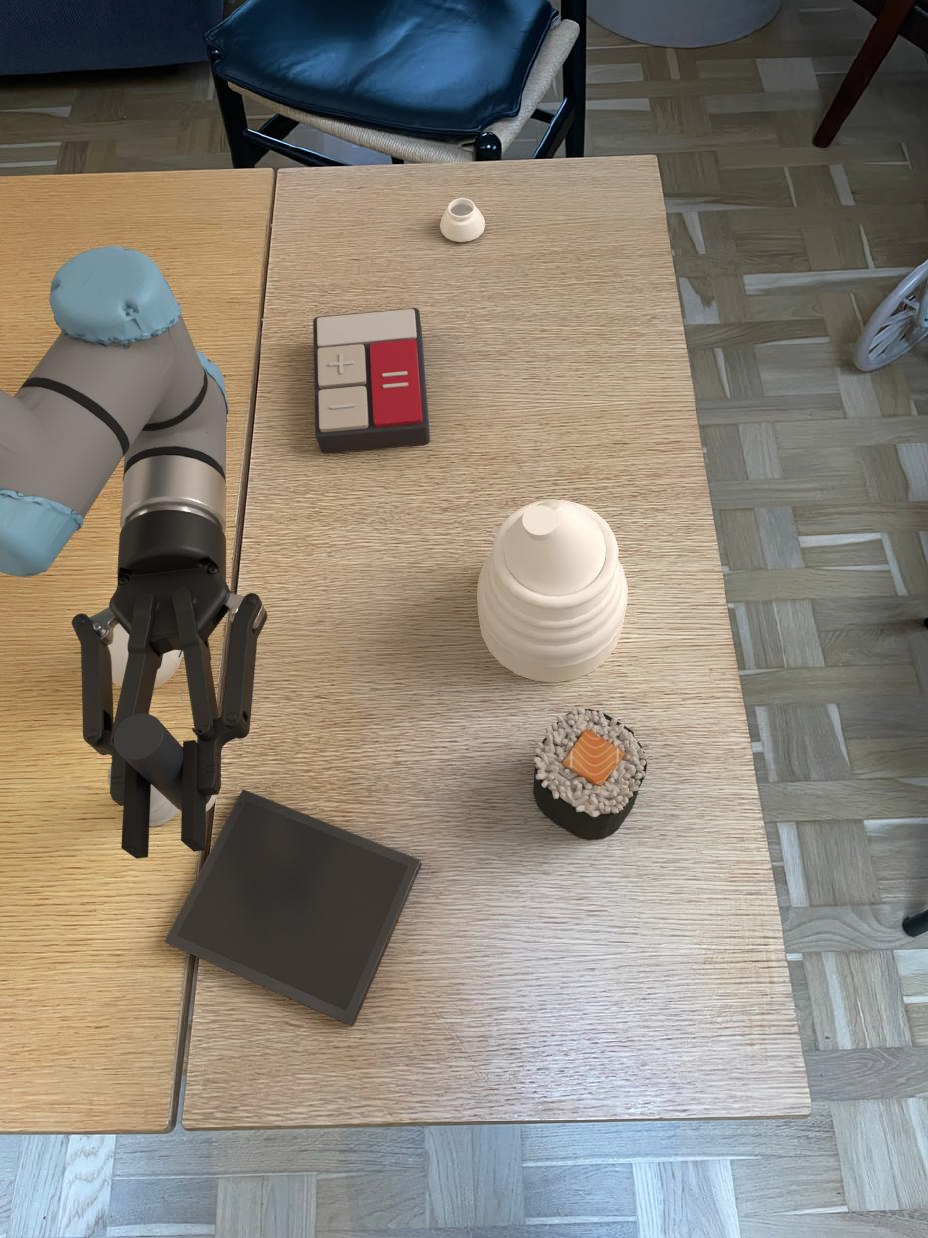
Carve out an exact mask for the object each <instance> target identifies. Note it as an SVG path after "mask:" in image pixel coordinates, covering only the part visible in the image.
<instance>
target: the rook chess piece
mask: <svg viewBox="0 0 928 1238" xmlns="http://www.w3.org/2000/svg"><path fill="white" fill-rule="evenodd" d="M110 781H111V766H110V768H109V769H108V770H107V784H108V786H109V787H110V785H111V783H110ZM178 812H180V811H179V810H178V809H177V808H176V807H175V806H174V805H173V804H172V803H171V802H170V801H169V800H168V799H167V798H166V797H164V796H163V795H162V794H161V793H160V792H159V791H158V790H157V789H156V788H155V787H154V786H153V785H152V784H151V796H150V822H149V827H154V826H161V825H163V824H166V823H167V822H168V821H170V820H172V819H173V818H174V817H175V816H176V815H177V813H178Z"/></svg>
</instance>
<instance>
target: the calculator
mask: <svg viewBox="0 0 928 1238" xmlns="http://www.w3.org/2000/svg"><path fill="white" fill-rule="evenodd" d="M422 330H423V329H422V322H421V313H420V310H419V308H417V307H409V308H399V309H398V308H397V309H387V310H376V311H367V312H356V313H355V312H353V313H344V314H333V315H322V316H316V317H314V318H313V320H312V336H313V337H312V339H313V342H312V343H313V382H314V383H313V388H314V389H313V390H314V391H313V392H314V435H315V438H316V439H315V440H316V442H317V444H318V449H319V452H321V453H322V454H336V453H346V452H357V451H358V452H359V451H367V450H377V449H378V450H379V449H389V448H400V447H401V448H402V447H410V446H412V447H413V446H422V445H423V446H424V445H428V444H429V443H430V441H431V434H430V422H429V408H428V396H427V382H426V381H427V380H426V369H425V356H424V355H425V354H424V342H423V331H422Z"/></svg>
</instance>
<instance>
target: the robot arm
mask: <svg viewBox="0 0 928 1238" xmlns="http://www.w3.org/2000/svg"><path fill="white" fill-rule="evenodd" d="M48 301H49V306H50V308H51V311H52V314H53V320H54V322H55V324H56V326H57V327H58V328H59V329H60V330H61V331H60V334H59V335H58V336H57V337H56V339H55V340H54V342H53V343H52V344H51V345H50V347H49V348H48V349H47V351H46V352H45V353H44V355H43V356H42V358H41V359H40V360H39V362H38V363H37V364H36V366H35V368H34V369H33V370H32V371H31V373H30V374H29V375H28V377H27V378H26V379H25V381H24V382H23V384H22V385H21V386H20V387H19V389H18V390H17V392H16V393H15V394H14V395H11V394H10V393H8V392H7V391H5V390H3V389H1V388H0V573H2V574H5V575H9V576H13V577H18V578H31V577H34V576H38V575H41V574H42V573H46V572H47V571H48V569H49V568H51V566H52V565H53V563H54V562H55V560H56V559H57V558H58V556H59V555H60V554H61V552H62V551H63V549H64V548H65V547H66V545H67V544H68V543H69V541H70V540H71V539H72V537H73V535H74V534H75V533H76V532H78V531H80V530H81V528H82V527H83V525H84V520H85V518H86V516H87V514H88V513H89V511H90V510H91V508H92V507H93V506H94V504H95V502H96V501H97V499H98V497H99V495H100V494H101V493H102V491H103V489H104V488H105V487H106V485H107V484H108V481H109V480H110V479H111V477H112V476H113V474H114V472H115V471H116V469H117V467H118V465H120V463H121V461H122V459H123V475H122V491H121V493H122V494H121V504H120V505H121V506H120V516H119V525H120V528H121V529H120V532H119V536H118V537H119V539H118V555H117V570H116V571H117V573H116V575H117V576H116V577H117V585H116V589H115V591H114V593H113V595H112V596H111V598H110V599H109V602H108V603H109V604H108V607H106V608H105V609H103V610H100V611H99V612H97V613H95V614H93V615H92V616H88V615H87V614H86V613H78V614H76V615H74V616H73V618H72V619H71V626H72V628H73V630H74V632H75V635H76V637H77V639H78V641H79V643H80V665H81V666H80V668H81V671H80V672H81V673H80V674H81V707H82V708H81V710H82V711H81V714H82V738H83V740H84V742H85V743H87V744H88V745H89V746H90V747H91V748H93V750H95V751H96V752H97V753H98V754H99V755H101V756H108V755H109V756H111V763H110V767H111V781H110V783H111V785H110V786H109V795H110V797H111V800H112V801H113V802H114V803H115V804H117V805H118V806H120V807H122V826H121V827H122V828H121V843H120V844H121V845H120V846H121V847H120V848H121V849H122V850H123V851H124V852H126V853H127V854H129V855H130V856H132V857H133V858H134V859H137V860H138V859H146V858H149V849H150V848H149V845H150V826H149V822H150V796H151V783H149V782H148V781H147V780H146V779H145V778H144V777H143V776H142V775H141V774H140V773H139V772H138V771H137V770H136V769H135V768H133V767H132V766H131V765H130V764H129V763H128V762H127V761H126V760H125V759H124V758H123V757H122V756H121V755H120V754H119V753H118V752H117V751H116V749H115V745H114V736H115V733H116V730H117V728H118V727H119V725H120V724H121V723H122V722H123V721H124V720H125V719H127V718H128V717H130V716H132V715H135V714H141V713H145V714H150V709H151V705H152V699H153V693H154V689H155V688H154V684H155V679H156V674H157V670H158V669H159V668H160V667H161V664H162V659H163V654H165V653H167V652H170V651H173V650H181V651H183V660H184V666H185V675H186V680H187V688H188V693H189V702H190V707H191V708H190V709H191V714H192V721H193V727H191V730H192V732H193V734H194V735H195V736H196V740H195V739H191V740H183V741H182V747H183V770H182V812H181V816H180V817H181V822H180V841H181V842H182V843H183V844H184V845H185V846H186V847H188V848H189V849H190V850H191V851H192V852H193V853H194V852H203V851H206V849H207V848H206V846H207V845H206V843H207V840H206V839H207V838H206V837H207V836H206V835H207V812H206V796H210V795H217V796H218V795H219V793H220V790H221V788H222V751H223V748H224V746H225V745H226V744H227V743H229V742H231V741H233V740H235V739H237V740H241V739H244V738H246V737H248V735H249V733H250V730H251V720H252V708H253V695H254V682H255V672H256V662H257V661H256V659H257V647H258V638H259V637H260V634H261V632H262V631H263V629H264V626H265V624H266V622H267V620H268V617H269V616H268V612H267V610H266V608H265V606H264V604H263V601H262V599H261V597H260V596H259V595H258V594H257V593H255V592H251V593H247V594H245V596H243V595H240V594H236V593H233V592H232V591H231V589H230V587H229V585H228V583H227V537H226V535H225V534H226V530H227V483H226V482H227V481H226V480H227V479H226V478H227V473H226V472H227V423H228V415H229V402H228V399H227V394H226V382H225V378H224V375H223V372H222V371H221V368H220V367H219V366H218V365H217V364H216V363H215V362H214V361H212V360H211V359H209V358H208V357H207V356H206V355H205V354H204V353H203V352H202V351H200V350H197V349H196V348H195V344H194V342H193V340H192V337H191V335H190V332H189V330H188V327H187V324H186V322H185V319H184V317H183V315H182V307H181V303H179V301H178V300H177V299H176V297H175V294H174V293H173V291H172V288H171V286H170V284H169V283H168V280H167V279H166V278H165V276H164V274H163V273H162V271H161V269H160V267H159V265H158V264H157V263H156V262H155V261H154V260H153V259H152V258H151V257H149V256H148V255H146V254H145V253H143V252H141V251H139V250H135V249H132V248H127V247H126V248H125V247H124V246H118V245H110V246H109V245H107V246H98V247H94V248H91V249H88V250H86V251H83V252H80V253H79V254H76V255H75V256H73V257H71V258H70V259H68V260H67V261H65V262H64V263H63V264H62V265H61V266H60V268H58V270H57V271H56V272H55V274H54V275H53V278H52V280H51V284H50V292H49V298H48ZM228 612H229V614H228ZM226 614H228V618H229V620H230V622H231V629H230V639H229V647H228V658H227V668H226V676H225V677H226V678H225V689H224V699H223V708H222V716H220V712H219V707H218V706H219V705H218V701H217V694H216V688H215V682H214V676H213V669H212V663H211V661H212V654H211V653H212V652H211V648H210V642H209V641H210V640H209V638H210V637H211V635H212V633H214V631H215V630H216V628H217V627H218V626H219V625H220V623H222V620H223V619H224V618H225V617H226ZM117 624H120V625H121V626H122V627H123V628H124V630H125V631H126V632H127V633H128V634H129V640H128V645H127V649H128V660H127V664H126V669H125V673H124V678H123V683H122V687H120V693H119V697H118V701H117V706H116V711H115V712H114V689H113V682H112V661H111V654H110V650H109V647H108V645H110V644H112V642H113V637H114V634H113V630H114V627H115V626H116V625H117ZM114 713H115V716H114Z"/></svg>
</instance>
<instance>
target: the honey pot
mask: <svg viewBox="0 0 928 1238" xmlns="http://www.w3.org/2000/svg"><path fill="white" fill-rule="evenodd" d="M619 552H620V551H619V546H618V541H617V539H616V534H614V531H613V530H612V528H611V526H610V525H609V524H608V522H607V521H606V520H605V519H604V518H603V517H602V516H600V514H599V513H598V512H596V511H595V510H593V509H591V508H589V507H587V506H586V505H584V504H581V503H578V502H574V501H571V500H567V499H555V498H554V499H553V498H551V499H544V500H537V501H534V502H531V503H528V504H526V505H523V506H521V507H519V508H518V509H517V510H515V511H514V512H512V513H510V515H508V516H507V517H506V519H505V520H504V521H503V522H502V523H501V525H500V526H499V527H498V530H497V531H496V534H495V537H494V539H493V541H492V548H491V552H490V553H489V554H488V556H486V558H485V560H484V563H483V565H482V568H481V570H480V572H479V575H478V579H477V580H478V581H477V588H476V597H477V598H476V600H477V601H476V603H477V614H478V622H479V623H478V624H479V629H480V634H481V637H482V640H483V641H484V644H485V646H486V648H487V650H488V652H489V653H490V654H491V655H492V656H493V657H494V658H495V659H496V660H497V661H498V663H499V664H500V665H501V666H503V667H505V669H507V670H509V671H511V672H512V673H514V674H515V675H517V676H519V677H522V678H526V679H529V680H531V681H534V682H543V683H544V682H545V683H561V682H568V681H574V680H577V679H579V678H581V677H584V676H586V675H588V674H590V673H593V672H594V671H595V670H596V669H598V668H599V667H600V666H601V665H603V664H604V663H605V662H606V661H607V660H608V659H609V657H610V656H611V654H612V653H613V652H614V650H615V649H616V648H617V646H618V643H619V640H620V637H621V635H622V632H623V627H624V622H625V618H626V612H627V606H628V597H629V596H628V595H629V586H628V582H627V578H626V574H625V570H624V566H623V565H622V563H621V562H620V560H619V555H620V553H619Z"/></svg>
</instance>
